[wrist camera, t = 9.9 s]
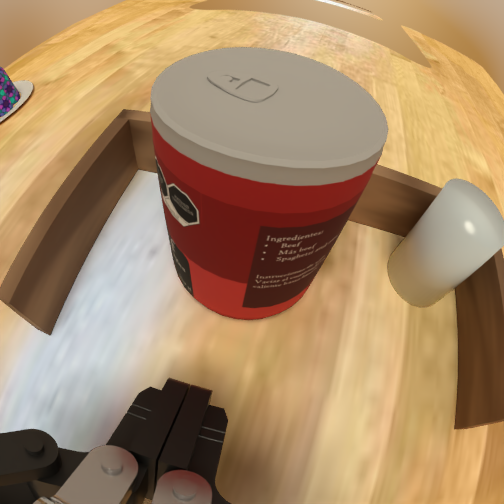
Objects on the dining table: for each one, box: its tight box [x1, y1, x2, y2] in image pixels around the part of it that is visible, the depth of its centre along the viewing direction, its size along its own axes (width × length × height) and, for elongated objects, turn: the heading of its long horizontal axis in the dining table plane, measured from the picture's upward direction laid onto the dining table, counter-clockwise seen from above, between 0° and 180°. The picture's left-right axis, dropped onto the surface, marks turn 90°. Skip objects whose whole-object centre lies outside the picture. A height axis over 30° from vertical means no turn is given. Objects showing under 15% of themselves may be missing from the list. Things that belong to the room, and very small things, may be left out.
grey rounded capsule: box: [388, 179, 504, 307], centre depth 16 cm, size 5×5×7 cm
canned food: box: [150, 47, 388, 320], centre depth 14 cm, size 8×8×11 cm
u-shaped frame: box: [0, 109, 504, 429], centre depth 16 cm, size 26×14×4 cm, turn 77°
